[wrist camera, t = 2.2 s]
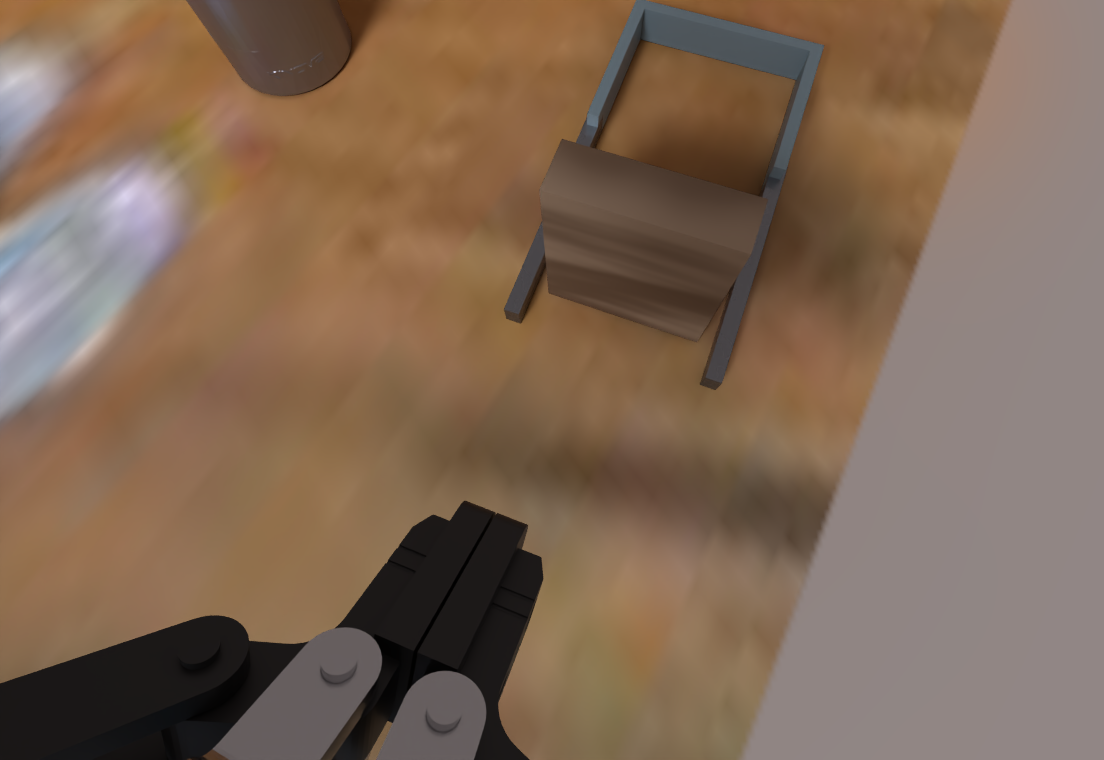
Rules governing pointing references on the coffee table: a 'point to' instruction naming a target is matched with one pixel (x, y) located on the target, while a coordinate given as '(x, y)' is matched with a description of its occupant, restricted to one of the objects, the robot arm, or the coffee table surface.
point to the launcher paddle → (643, 238)
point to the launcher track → (734, 301)
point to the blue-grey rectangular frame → (720, 44)
